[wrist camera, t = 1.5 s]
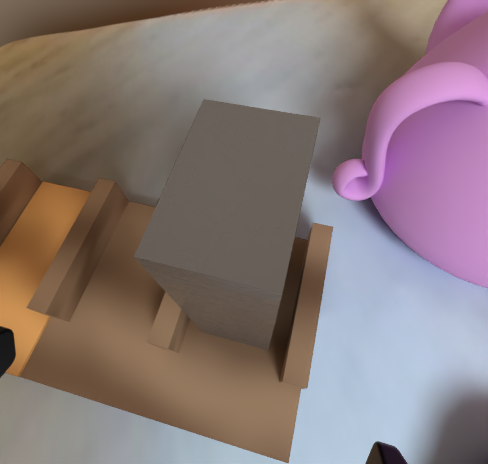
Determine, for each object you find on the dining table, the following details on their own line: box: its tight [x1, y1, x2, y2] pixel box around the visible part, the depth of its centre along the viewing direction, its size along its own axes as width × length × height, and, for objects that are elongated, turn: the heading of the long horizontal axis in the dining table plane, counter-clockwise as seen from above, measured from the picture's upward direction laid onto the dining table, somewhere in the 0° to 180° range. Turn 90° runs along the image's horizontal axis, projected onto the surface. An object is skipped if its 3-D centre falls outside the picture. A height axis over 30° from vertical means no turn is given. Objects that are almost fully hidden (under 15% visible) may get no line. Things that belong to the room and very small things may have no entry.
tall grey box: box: [134, 99, 320, 350], centre depth 15 cm, size 6×4×12 cm, turn 165°
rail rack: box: [0, 159, 333, 463], centre depth 20 cm, size 12×23×4 cm, turn 75°
